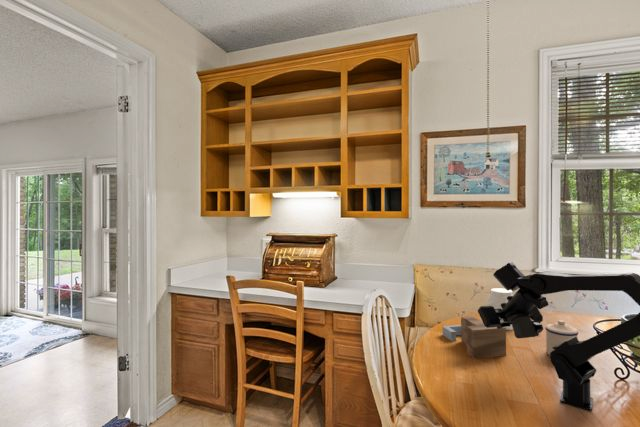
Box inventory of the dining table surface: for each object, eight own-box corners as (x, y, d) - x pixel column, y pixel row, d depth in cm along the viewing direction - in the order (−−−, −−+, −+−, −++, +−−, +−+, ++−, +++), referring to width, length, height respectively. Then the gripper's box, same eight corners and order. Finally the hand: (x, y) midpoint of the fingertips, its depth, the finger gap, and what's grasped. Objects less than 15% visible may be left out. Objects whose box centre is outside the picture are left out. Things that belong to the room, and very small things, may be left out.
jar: (485, 326, 144) (484, 291, 144) (488, 320, 152) (488, 286, 152) (516, 331, 138) (516, 294, 138) (518, 324, 146) (517, 289, 146)
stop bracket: (477, 338, 131) (477, 329, 131) (451, 341, 129) (451, 332, 129) (468, 332, 137) (467, 324, 137) (442, 334, 136) (442, 326, 136)
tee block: (506, 355, 116) (505, 327, 116) (473, 358, 114) (473, 330, 114) (480, 339, 130) (480, 315, 130) (451, 342, 128) (451, 317, 128)
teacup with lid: (574, 363, 109) (574, 327, 109) (541, 354, 116) (541, 320, 116) (583, 352, 117) (583, 319, 117) (552, 345, 124) (552, 313, 123)
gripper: (507, 330, 93) (482, 354, 104) (567, 325, 96) (537, 349, 107) (488, 295, 101) (467, 320, 112) (544, 291, 104) (518, 316, 115)
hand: (497, 327), depth 111 cm, fingers closed
